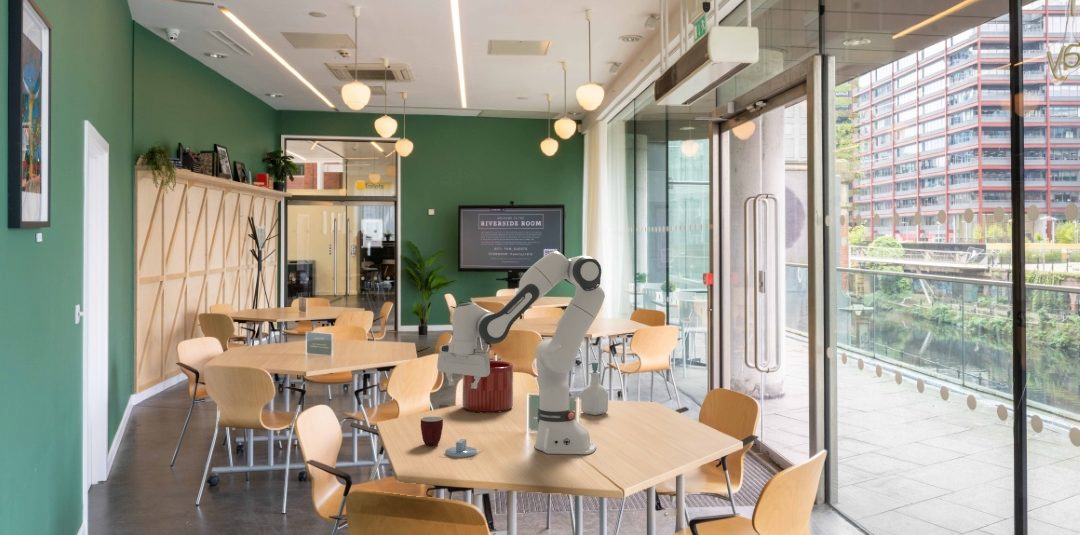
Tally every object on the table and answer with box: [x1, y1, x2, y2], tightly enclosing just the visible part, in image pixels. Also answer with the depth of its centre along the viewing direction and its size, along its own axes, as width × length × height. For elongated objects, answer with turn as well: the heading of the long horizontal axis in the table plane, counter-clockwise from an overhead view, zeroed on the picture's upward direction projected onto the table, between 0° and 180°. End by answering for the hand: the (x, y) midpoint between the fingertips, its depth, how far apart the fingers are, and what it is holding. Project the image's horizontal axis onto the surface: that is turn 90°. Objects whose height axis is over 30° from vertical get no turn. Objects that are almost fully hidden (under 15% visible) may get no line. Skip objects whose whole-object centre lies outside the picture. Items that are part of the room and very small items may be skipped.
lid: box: [444, 438, 478, 459], centre depth 252 cm, size 11×11×4 cm
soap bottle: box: [580, 361, 609, 416], centre depth 321 cm, size 10×10×23 cm
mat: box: [438, 449, 484, 461], centre depth 252 cm, size 12×12×1 cm
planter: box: [462, 360, 514, 413], centre depth 329 cm, size 23×23×20 cm
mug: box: [420, 416, 444, 447], centre depth 262 cm, size 11×8×10 cm
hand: (462, 386), depth 255 cm, fingers open, 8 cm apart
